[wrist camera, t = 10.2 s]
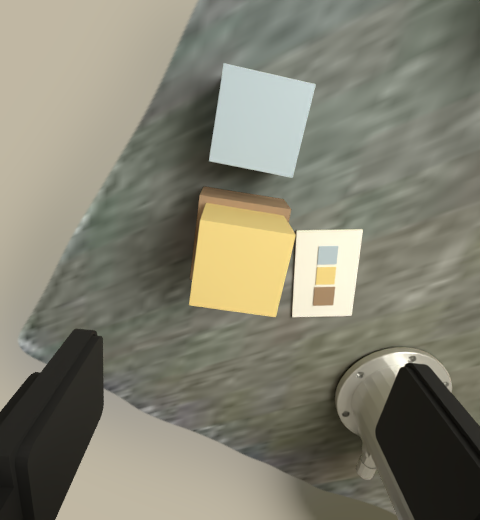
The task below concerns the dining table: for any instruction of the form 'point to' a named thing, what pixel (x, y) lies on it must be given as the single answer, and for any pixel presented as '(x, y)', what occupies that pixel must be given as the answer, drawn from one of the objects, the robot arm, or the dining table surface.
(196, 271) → the mustard brick
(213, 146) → the bluegrey brick
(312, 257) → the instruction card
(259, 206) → the base brick
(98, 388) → the robot arm
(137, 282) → the dining table surface
